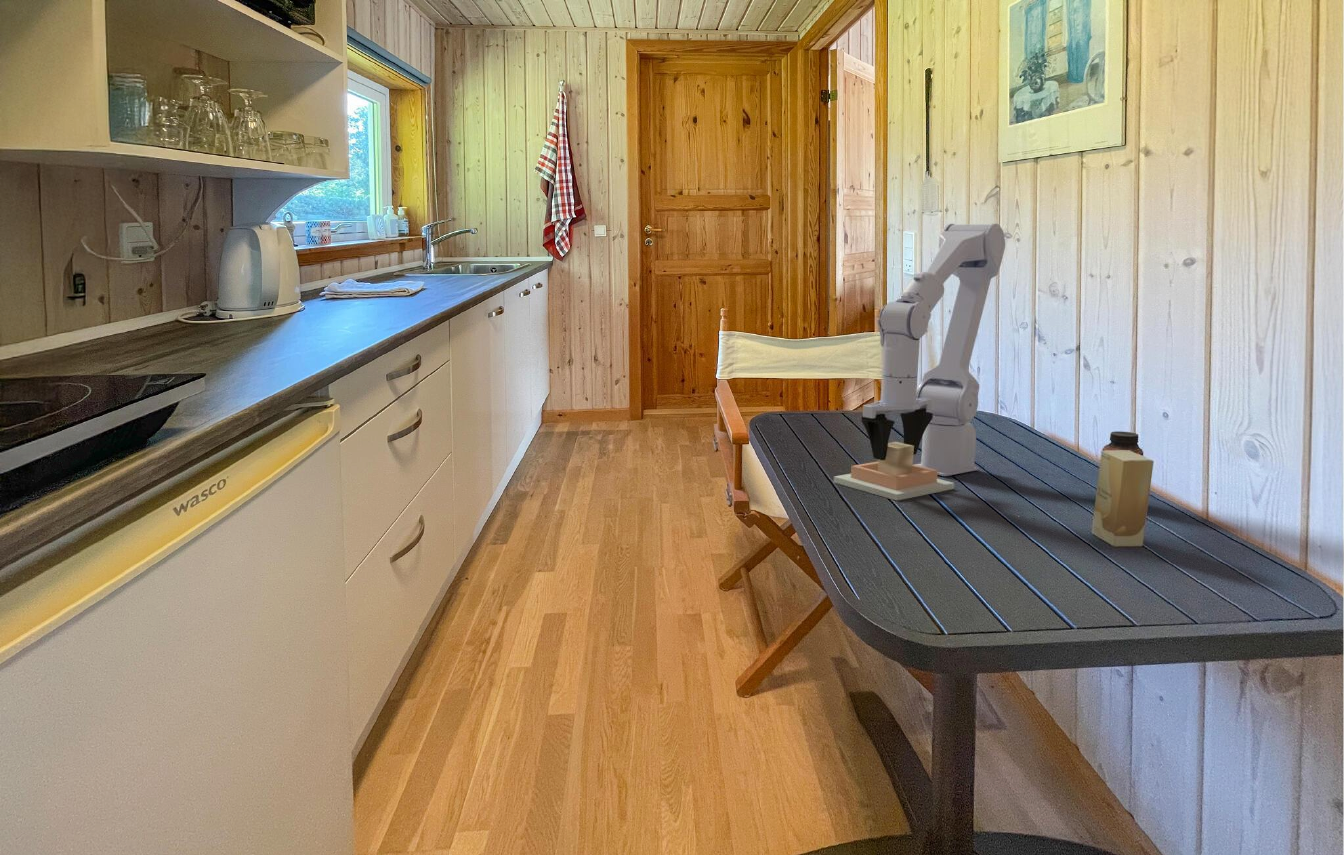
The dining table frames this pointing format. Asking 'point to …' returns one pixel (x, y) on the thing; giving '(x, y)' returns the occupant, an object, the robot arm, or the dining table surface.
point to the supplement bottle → (1124, 442)
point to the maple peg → (897, 459)
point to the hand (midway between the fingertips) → (895, 456)
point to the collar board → (894, 481)
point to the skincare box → (1122, 497)
